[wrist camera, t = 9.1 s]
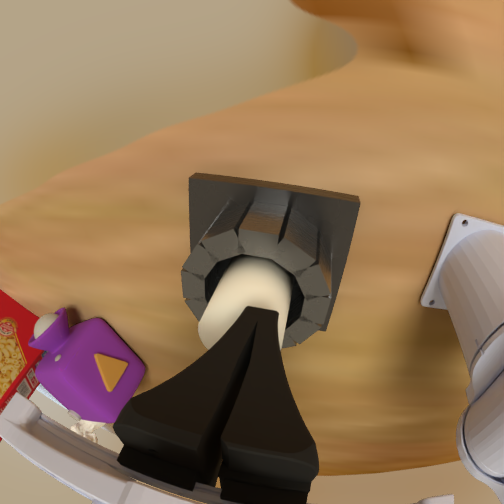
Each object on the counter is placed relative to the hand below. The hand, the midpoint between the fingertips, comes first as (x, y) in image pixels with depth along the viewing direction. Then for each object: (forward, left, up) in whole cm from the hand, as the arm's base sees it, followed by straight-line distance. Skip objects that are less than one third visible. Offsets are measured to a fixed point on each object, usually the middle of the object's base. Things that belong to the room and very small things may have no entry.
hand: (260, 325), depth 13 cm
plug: (+1, +2, -7) cm, 8 cm away
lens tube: (+1, +3, -10) cm, 10 cm away
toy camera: (+21, +19, -10) cm, 30 cm away
